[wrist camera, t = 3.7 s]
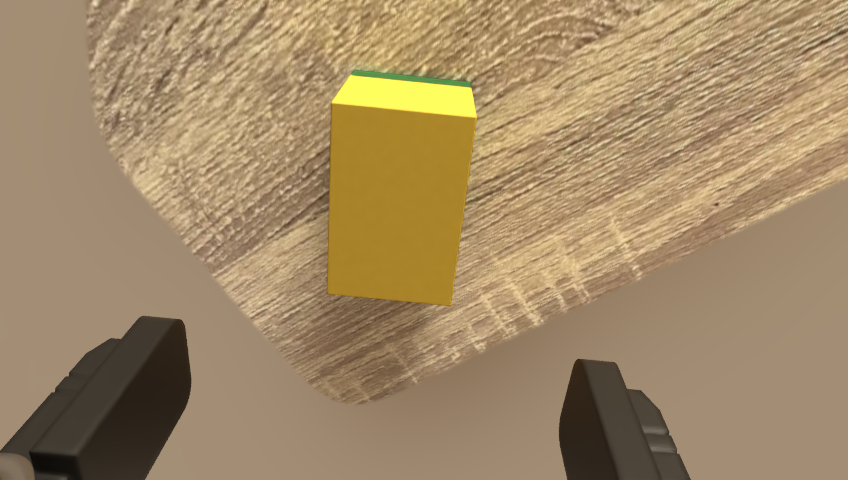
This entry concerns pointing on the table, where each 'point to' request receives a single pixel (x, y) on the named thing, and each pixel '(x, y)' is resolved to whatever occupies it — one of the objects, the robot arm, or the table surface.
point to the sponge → (398, 186)
